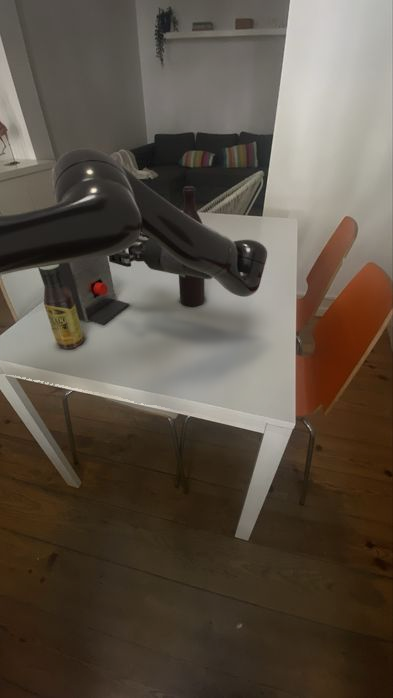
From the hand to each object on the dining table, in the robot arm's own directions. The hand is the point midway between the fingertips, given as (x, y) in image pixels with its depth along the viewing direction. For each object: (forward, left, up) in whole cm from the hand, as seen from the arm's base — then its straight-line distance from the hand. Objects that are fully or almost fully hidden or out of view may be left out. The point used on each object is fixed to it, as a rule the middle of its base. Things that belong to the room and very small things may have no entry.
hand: (109, 243), depth 74 cm
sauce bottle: (-15, -5, -20) cm, 25 cm away
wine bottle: (+20, -2, -20) cm, 29 cm away
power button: (-3, +5, -15) cm, 16 cm away
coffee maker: (-6, +9, -20) cm, 23 cm away
